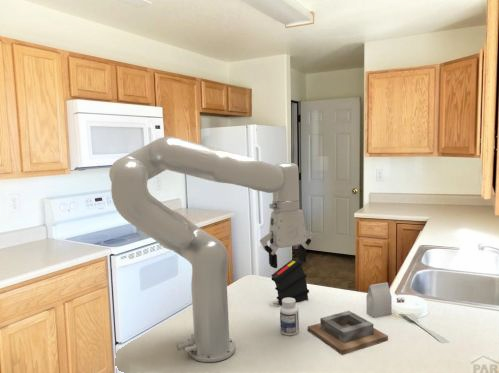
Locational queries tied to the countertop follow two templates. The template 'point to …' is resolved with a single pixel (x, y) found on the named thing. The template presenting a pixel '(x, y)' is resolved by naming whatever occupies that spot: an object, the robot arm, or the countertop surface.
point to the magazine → (291, 281)
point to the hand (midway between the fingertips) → (288, 264)
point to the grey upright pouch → (379, 300)
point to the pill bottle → (289, 317)
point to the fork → (438, 337)
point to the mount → (347, 332)
